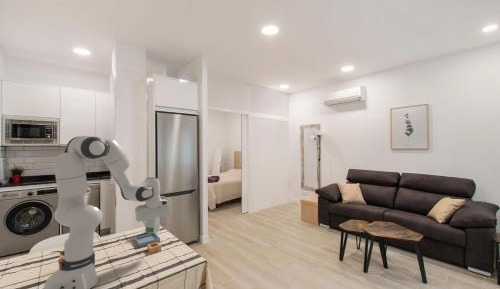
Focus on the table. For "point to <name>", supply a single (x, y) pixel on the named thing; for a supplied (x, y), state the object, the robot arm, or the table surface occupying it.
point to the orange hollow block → (155, 248)
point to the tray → (146, 239)
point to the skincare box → (153, 225)
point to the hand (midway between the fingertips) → (153, 224)
